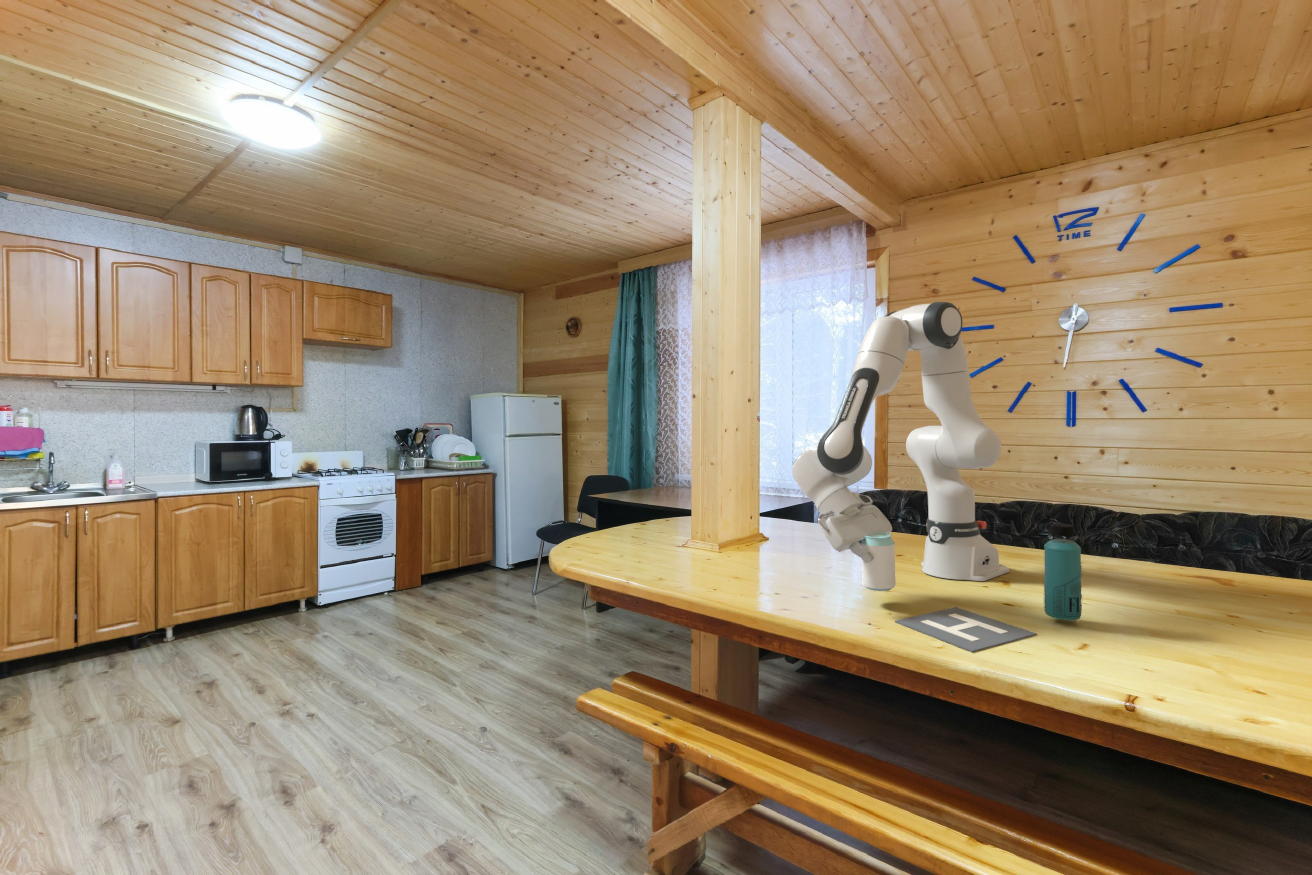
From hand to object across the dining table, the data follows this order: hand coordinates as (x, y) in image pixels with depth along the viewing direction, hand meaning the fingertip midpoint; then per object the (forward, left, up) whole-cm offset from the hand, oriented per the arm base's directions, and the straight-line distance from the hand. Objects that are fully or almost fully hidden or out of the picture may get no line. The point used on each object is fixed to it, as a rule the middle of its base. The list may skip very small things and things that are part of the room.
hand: (880, 557), depth 136 cm
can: (0, -1, -7) cm, 7 cm away
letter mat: (-3, +18, -11) cm, 22 cm away
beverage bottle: (-23, +25, -11) cm, 36 cm away
